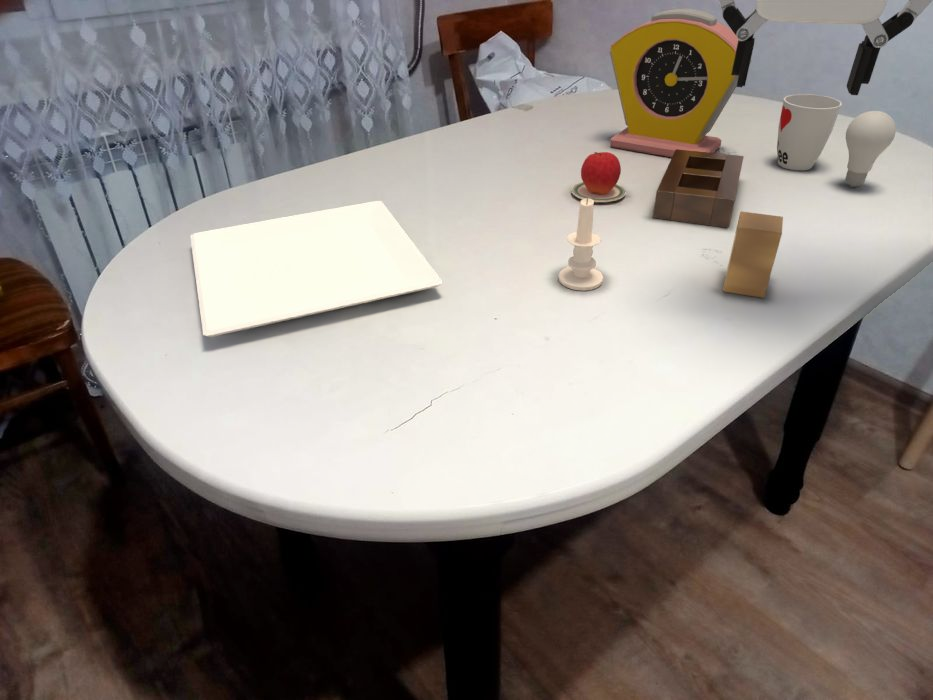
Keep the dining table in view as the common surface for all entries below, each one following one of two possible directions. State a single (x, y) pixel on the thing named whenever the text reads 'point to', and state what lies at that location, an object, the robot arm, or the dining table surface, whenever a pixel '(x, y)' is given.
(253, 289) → the plate
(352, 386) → the dining table surface
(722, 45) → the yellow clock scale
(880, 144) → the lightbulb
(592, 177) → the apple
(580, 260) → the candle
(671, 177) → the holder
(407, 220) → the dining table surface
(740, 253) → the peg
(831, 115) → the cup
